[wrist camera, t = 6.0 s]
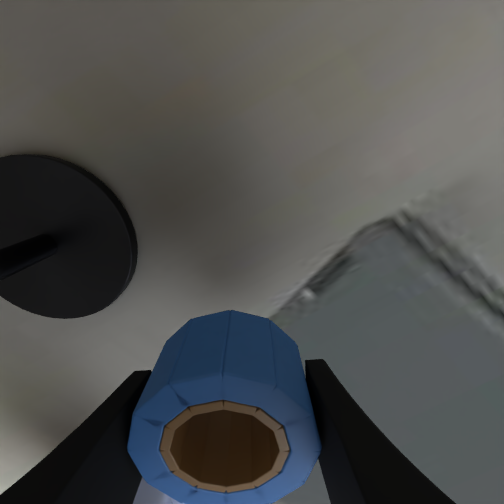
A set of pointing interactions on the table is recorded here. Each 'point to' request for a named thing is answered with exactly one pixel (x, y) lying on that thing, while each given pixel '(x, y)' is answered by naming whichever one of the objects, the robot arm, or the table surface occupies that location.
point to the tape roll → (226, 414)
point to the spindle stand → (61, 238)
